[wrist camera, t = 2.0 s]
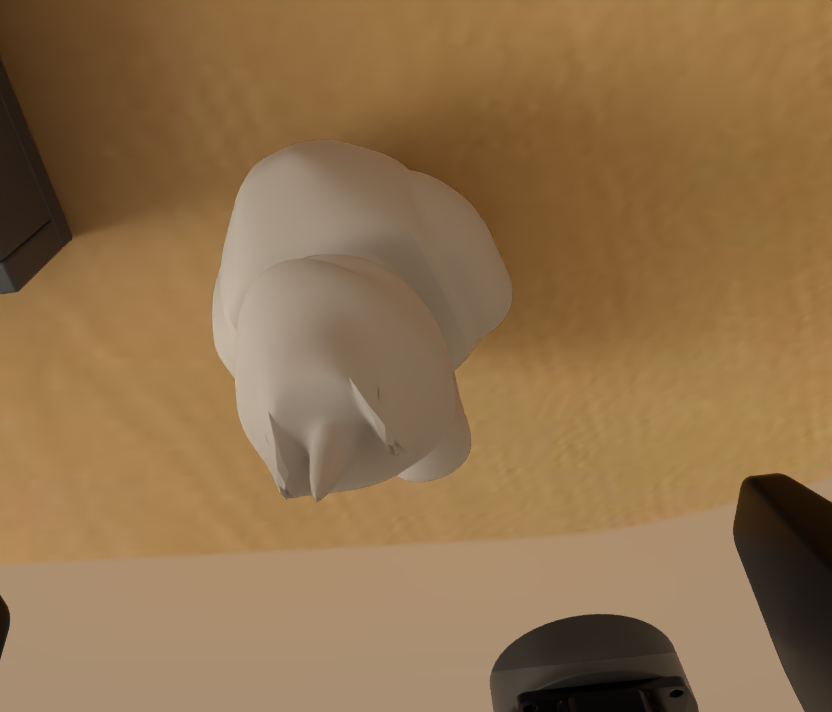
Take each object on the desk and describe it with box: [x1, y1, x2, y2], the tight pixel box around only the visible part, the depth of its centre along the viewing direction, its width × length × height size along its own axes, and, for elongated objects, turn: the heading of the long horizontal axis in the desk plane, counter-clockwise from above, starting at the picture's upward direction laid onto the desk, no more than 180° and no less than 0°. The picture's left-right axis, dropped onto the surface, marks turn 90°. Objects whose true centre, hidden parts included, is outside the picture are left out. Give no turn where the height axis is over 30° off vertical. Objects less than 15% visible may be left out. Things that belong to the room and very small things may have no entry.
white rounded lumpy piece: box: [212, 139, 513, 503], centre depth 11 cm, size 5×7×8 cm
